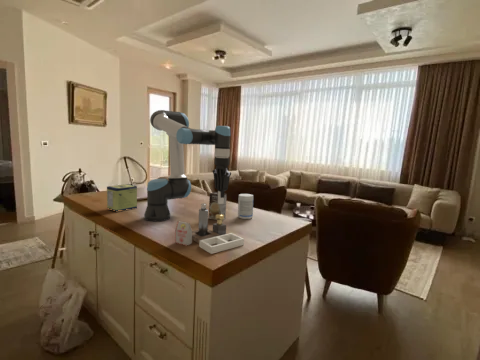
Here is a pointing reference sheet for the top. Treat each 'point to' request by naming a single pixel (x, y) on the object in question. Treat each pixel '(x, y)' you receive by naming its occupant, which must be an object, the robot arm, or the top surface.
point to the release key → (219, 218)
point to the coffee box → (216, 206)
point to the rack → (221, 243)
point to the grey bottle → (203, 221)
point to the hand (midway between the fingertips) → (220, 203)
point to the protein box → (121, 197)
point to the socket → (210, 232)
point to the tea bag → (183, 233)
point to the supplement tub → (245, 206)
